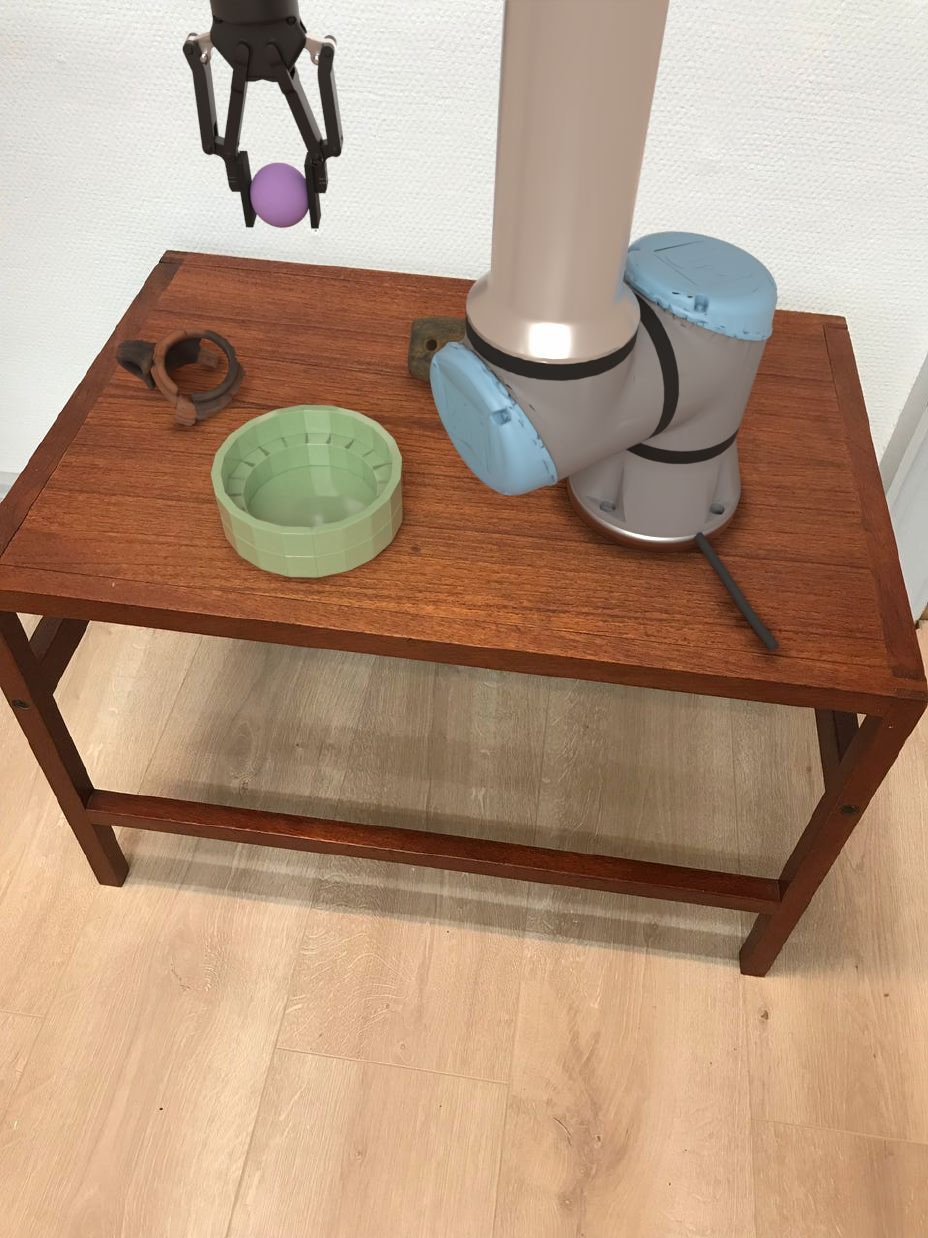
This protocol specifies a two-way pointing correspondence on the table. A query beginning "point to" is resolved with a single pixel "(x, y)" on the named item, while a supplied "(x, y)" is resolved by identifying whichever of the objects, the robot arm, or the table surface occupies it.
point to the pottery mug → (175, 353)
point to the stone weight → (431, 342)
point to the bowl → (309, 490)
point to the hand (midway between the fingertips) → (283, 220)
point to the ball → (279, 195)
